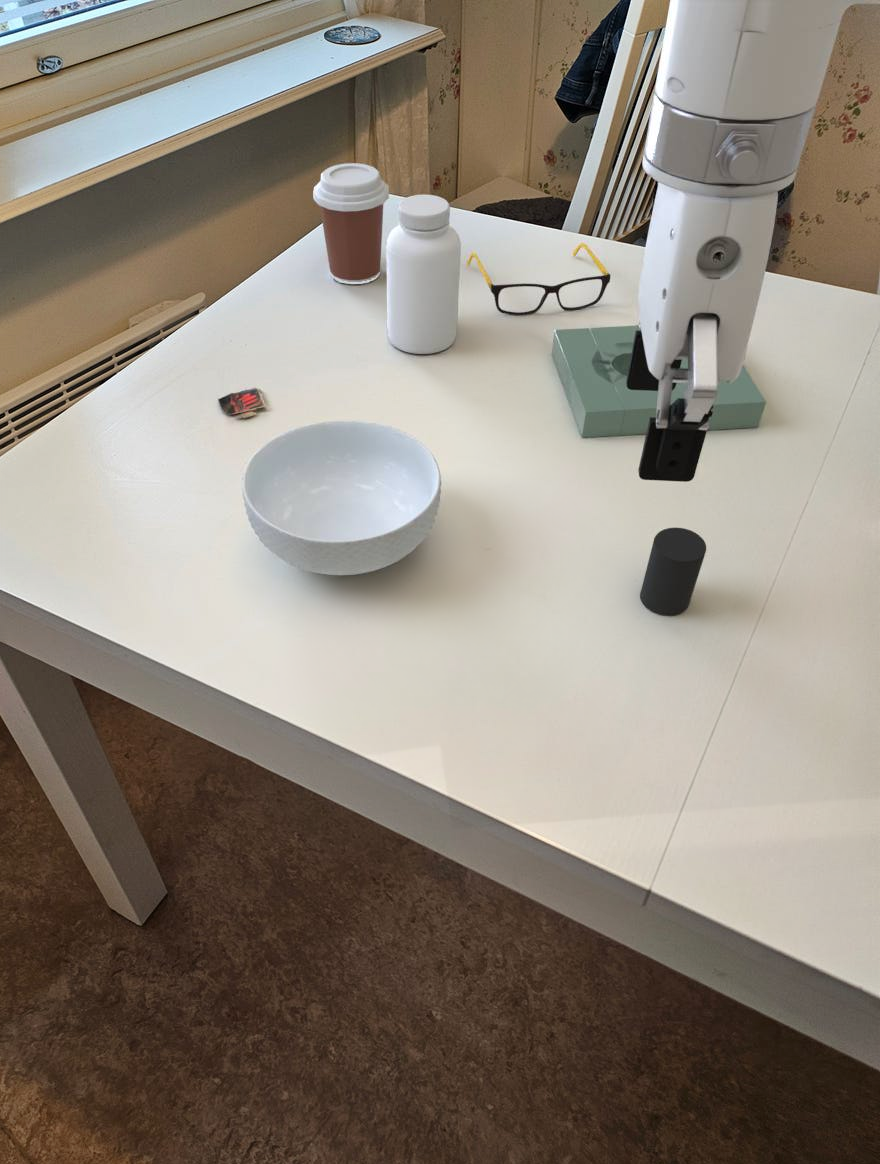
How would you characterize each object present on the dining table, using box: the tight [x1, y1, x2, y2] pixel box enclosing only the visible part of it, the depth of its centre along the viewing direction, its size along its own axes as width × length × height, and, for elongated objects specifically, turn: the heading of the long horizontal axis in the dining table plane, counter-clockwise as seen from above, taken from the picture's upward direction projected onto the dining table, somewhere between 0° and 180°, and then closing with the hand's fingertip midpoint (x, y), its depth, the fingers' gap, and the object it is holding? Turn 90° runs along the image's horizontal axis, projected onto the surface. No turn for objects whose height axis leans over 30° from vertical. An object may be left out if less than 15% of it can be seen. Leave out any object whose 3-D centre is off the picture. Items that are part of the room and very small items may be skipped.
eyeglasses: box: [466, 243, 611, 316], centre depth 110 cm, size 14×14×4 cm
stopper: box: [639, 527, 707, 617], centre depth 72 cm, size 4×4×6 cm
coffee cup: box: [312, 162, 390, 282], centre depth 110 cm, size 9×9×12 cm
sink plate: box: [551, 324, 767, 439], centre depth 94 cm, size 18×16×3 cm
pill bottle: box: [385, 194, 462, 355], centre depth 98 cm, size 8×8×15 cm
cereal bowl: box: [241, 419, 442, 576], centre depth 77 cm, size 17×17×7 cm
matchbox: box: [217, 387, 266, 420], centre depth 94 cm, size 5×5×1 cm
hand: (656, 430), depth 57 cm, fingers open, 9 cm apart
